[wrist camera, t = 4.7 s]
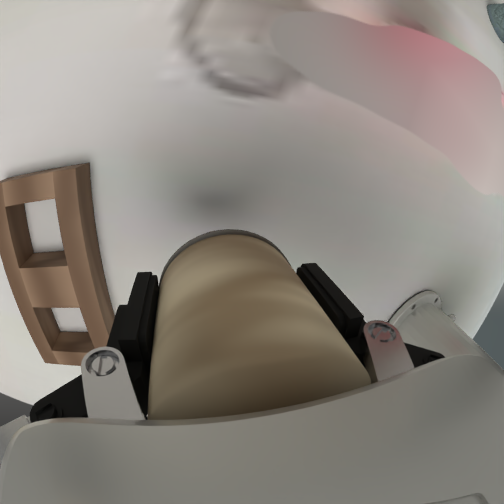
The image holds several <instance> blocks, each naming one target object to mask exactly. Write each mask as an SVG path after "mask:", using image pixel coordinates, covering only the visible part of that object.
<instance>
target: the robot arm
mask: <svg viewBox="0 0 504 504" xmlns="http://www.w3.org/2000/svg"><path fill="white" fill-rule="evenodd" d="M296 274H297V275H298V277H299V278H300V279H301V281H302V282H303V283H304V285H305V286H306V287H307V289H308V290H309V292H310V293H311V294H312V296H313V297H314V298H315V300H316V301H317V302H318V304H319V305H320V306H321V308H322V309H323V311H324V312H325V313H326V315H327V316H328V317H329V319H330V320H331V322H332V323H333V324H334V326H335V327H336V329H337V330H338V331H339V333H340V334H341V335H342V337H343V338H344V340H345V341H346V342H347V344H348V345H349V347H350V348H351V349H352V351H353V352H354V354H355V355H356V356H357V358H358V359H359V361H360V362H361V364H362V365H363V366H364V368H365V369H366V371H367V372H368V374H369V376H370V379H371V384H370V385H367V386H364V387H361V388H358V389H355V390H351V391H348V392H344V393H341V394H337V395H334V396H330V397H326V398H323V399H319V400H315V401H310V402H306V403H302V404H297V405H292V406H287V407H282V408H277V409H272V410H266V411H260V412H253V413H246V414H238V415H230V416H221V417H210V418H197V419H176V420H147V418H148V416H147V414H148V395H149V379H150V366H151V355H152V345H153V336H154V327H155V319H156V311H157V304H158V297H159V286H158V278H157V275H152V272H138V273H137V276H136V279H135V282H134V285H133V288H132V291H131V295H130V298H129V301H128V305H119V307H118V310H117V313H116V316H115V319H114V322H113V325H112V328H111V332H110V335H109V338H108V342H107V345H106V347H99V348H96V349H93V350H91V351H90V352H88V353H87V354H86V355H85V356H84V358H83V360H82V362H81V372H82V374H81V375H80V376H78V377H77V378H75V379H73V380H72V381H70V382H68V383H67V384H65V385H63V386H62V387H60V388H59V389H57V390H55V391H54V392H52V393H50V394H49V395H47V396H45V397H44V398H42V399H40V400H39V401H38V402H36V403H35V404H34V406H33V407H32V409H31V412H30V416H29V417H26V416H25V415H23V416H21V417H19V418H17V419H15V420H13V421H11V422H9V423H8V424H6V425H4V426H2V427H0V504H504V370H503V369H502V368H501V367H500V366H499V365H498V364H497V363H496V362H495V361H494V360H493V359H492V358H491V357H490V356H489V355H488V354H487V353H486V352H485V351H484V350H483V349H482V348H481V347H480V346H479V345H478V344H476V342H474V341H473V340H472V339H471V338H470V337H469V336H468V335H467V334H466V333H465V332H464V331H463V330H462V329H460V328H459V327H458V326H457V325H456V324H455V323H454V321H455V316H454V315H453V314H451V315H449V316H447V315H446V314H445V313H444V312H442V311H441V306H442V303H441V299H440V297H439V296H438V295H437V294H436V293H435V292H433V291H425V292H421V293H419V294H417V295H416V296H414V297H412V298H411V299H410V300H408V301H407V302H406V303H405V304H404V305H403V306H402V307H401V308H400V309H399V310H398V311H397V312H396V313H395V314H394V316H393V317H392V318H391V320H390V321H389V322H384V321H379V320H374V321H370V322H368V323H366V322H365V321H364V320H363V318H364V316H363V315H362V313H361V312H360V311H359V310H358V309H357V308H356V307H355V306H354V304H353V303H352V302H351V301H350V300H349V299H348V298H347V297H346V296H345V294H344V293H343V292H342V291H341V290H340V289H339V288H338V287H337V286H336V284H335V283H334V282H333V281H332V280H331V279H330V278H329V277H328V276H327V275H326V274H325V272H324V271H323V270H322V269H321V268H320V267H319V266H318V265H317V264H316V263H307V264H302V265H301V267H298V269H297V273H296Z"/></svg>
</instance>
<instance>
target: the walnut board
mask: <svg viewBox="0 0 504 504" xmlns="http://www.w3.org/2000/svg"><path fill="white" fill-rule="evenodd" d="M54 198H55V200H56V207H57V214H58V221H59V226H60V232H61V237H62V242H63V247H64V251H55V252H42V253H34V252H33V248H32V244H31V239H30V235H29V230H28V225H27V219H26V214H25V207H24V203H29V202H35V201H41V200H48V199H54ZM0 255H1V258H2V262H3V265H4V269H5V272H6V275H7V278H8V281H9V284H10V287H11V290H12V292H13V295H14V298H15V300H16V303H17V305H18V308H19V310H20V313H21V315H22V317H23V320H24V322H25V324H26V326H27V329H28V331H29V333H30V335H31V337H32V339H33V341H34V343H35V345H36V347H37V349H38V351H39V353H40V355H41V356H42V358H43V360H44V362H45V363H51V364H63V365H77V366H81V362H82V360H83V358H84V356H85V355H86V354H87V353H88V352H90V351H91V350H93V349H96V348H99V347H106V345H107V342H108V338H109V335H110V332H111V328H112V325H113V322H114V319H115V316H114V312H113V309H112V305H111V301H110V297H109V293H108V289H107V285H106V280H105V276H104V271H103V266H102V261H101V256H100V251H99V245H98V239H97V233H96V226H95V219H94V211H93V202H92V192H91V180H90V164H89V163H84V164H77V165H71V166H65V167H59V168H53V169H48V170H43V171H38V172H33V173H29V174H24V175H20V176H15V177H11V178H7V179H4V180H2V181H0ZM51 308H80V310H81V313H82V316H83V319H84V322H85V324H86V327H87V330H88V332H60V330H59V328H58V325H57V323H56V320H55V318H54V315H53V313H52V310H51Z"/></svg>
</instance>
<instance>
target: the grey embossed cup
mask: <svg viewBox="0 0 504 504" xmlns="http://www.w3.org/2000/svg"><path fill="white" fill-rule="evenodd" d="M487 11H488V15H489V18H490V21H491V23H492V25H493V28H494V30H495V32H496V33H497V35H498V37H499V38H500V40H501V41H502V42H503V43H504V3H503V4H491V5H488V6H487Z"/></svg>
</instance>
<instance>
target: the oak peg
mask: <svg viewBox="0 0 504 504" xmlns="http://www.w3.org/2000/svg"><path fill="white" fill-rule="evenodd" d="M370 384H371V379H370V376H369V374H368V372H367V371H366V369H365V368H364V366H363V365H362V364H361V362H360V361H359V359H358V358H357V356H356V355H355V354H354V352H353V351H352V349H351V348H350V347H349V345H348V344H347V342H346V341H345V340H344V338H343V337H342V335H341V334H340V333H339V331H338V330H337V329H336V327H335V326H334V324H333V323H332V322H331V320H330V319H329V317H328V316H327V315H326V313H325V312H324V311H323V309H322V308H321V306H320V305H319V304H318V302H317V301H316V300H315V298H314V297H313V296H312V294H311V293H310V292H309V290H308V289H307V287H306V286H305V285H304V283H303V282H302V281H301V279H300V278H299V277H298V275H297V274H296V273H295V271H294V270H293V269H292V267H291V265H290V264H289V262H288V260H287V259H286V257H285V256H284V255H283V253H282V252H281V251H280V250H279V249H278V248H277V247H276V246H275V245H274V244H273V243H272V242H270V241H269V240H267V239H266V238H264V237H262V236H259V235H257V234H255V233H251V232H248V231H243V230H231V229H227V230H217V231H212V232H208V233H205V234H203V235H200V236H198V237H196V238H194V239H192V240H190V241H188V242H187V243H186V244H184V245H183V246H181V247H180V248H179V249H178V250H177V251H176V252H175V253H174V254H173V255H172V257H171V258H170V259H169V261H168V262H167V264H166V266H165V267H164V270H163V272H162V275H161V279H160V283H159V297H158V304H157V311H156V319H155V327H154V336H153V345H152V355H151V366H150V379H149V395H148V418H147V420H176V419H197V418H210V417H221V416H230V415H238V414H246V413H253V412H260V411H266V410H272V409H277V408H282V407H287V406H292V405H297V404H302V403H306V402H310V401H315V400H319V399H323V398H326V397H330V396H334V395H337V394H341V393H344V392H348V391H351V390H355V389H358V388H361V387H364V386H367V385H370Z"/></svg>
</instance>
